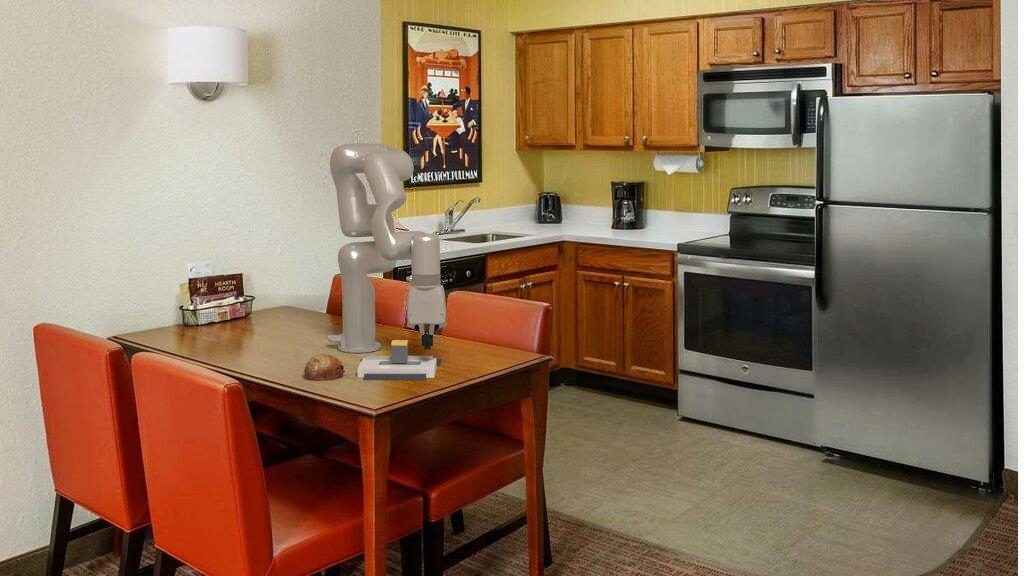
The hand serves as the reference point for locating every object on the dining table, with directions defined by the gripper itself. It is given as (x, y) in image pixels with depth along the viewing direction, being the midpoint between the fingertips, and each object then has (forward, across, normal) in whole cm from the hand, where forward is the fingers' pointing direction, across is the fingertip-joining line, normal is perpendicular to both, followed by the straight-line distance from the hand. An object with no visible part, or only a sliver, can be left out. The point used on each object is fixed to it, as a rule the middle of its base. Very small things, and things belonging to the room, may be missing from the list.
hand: (427, 348), depth 257 cm
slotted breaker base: (+6, -8, +1) cm, 10 cm away
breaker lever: (+4, -7, +1) cm, 8 cm away
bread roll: (+7, -27, -4) cm, 28 cm away
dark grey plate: (+6, -8, +1) cm, 10 cm away
